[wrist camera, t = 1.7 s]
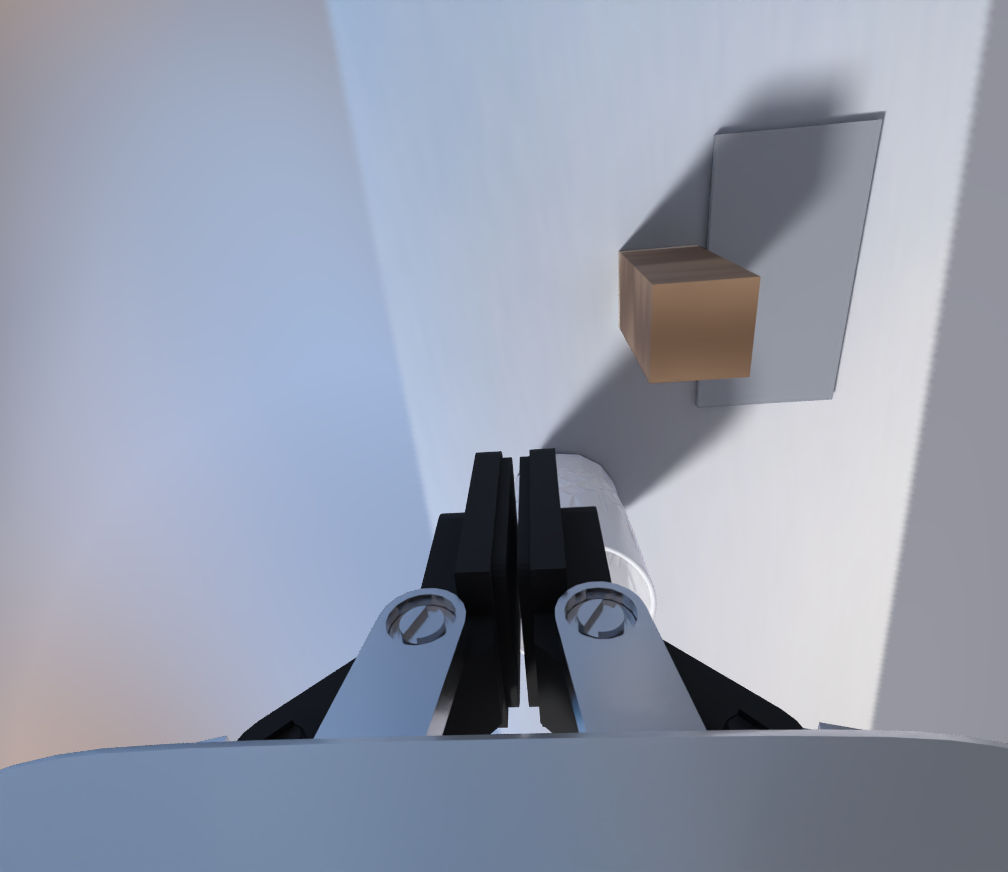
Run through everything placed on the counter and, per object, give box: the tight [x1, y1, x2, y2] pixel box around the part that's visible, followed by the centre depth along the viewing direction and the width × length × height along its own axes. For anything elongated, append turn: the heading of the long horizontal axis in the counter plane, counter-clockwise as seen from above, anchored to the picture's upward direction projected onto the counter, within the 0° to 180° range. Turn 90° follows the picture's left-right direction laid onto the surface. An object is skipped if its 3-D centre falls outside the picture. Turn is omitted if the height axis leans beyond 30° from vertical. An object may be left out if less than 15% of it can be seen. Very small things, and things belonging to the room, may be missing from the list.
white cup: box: [514, 454, 656, 654], centre depth 32 cm, size 8×8×10 cm
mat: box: [696, 119, 882, 407], centre depth 30 cm, size 14×8×1 cm, turn 5°
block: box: [619, 245, 761, 383], centre depth 26 cm, size 4×4×9 cm
